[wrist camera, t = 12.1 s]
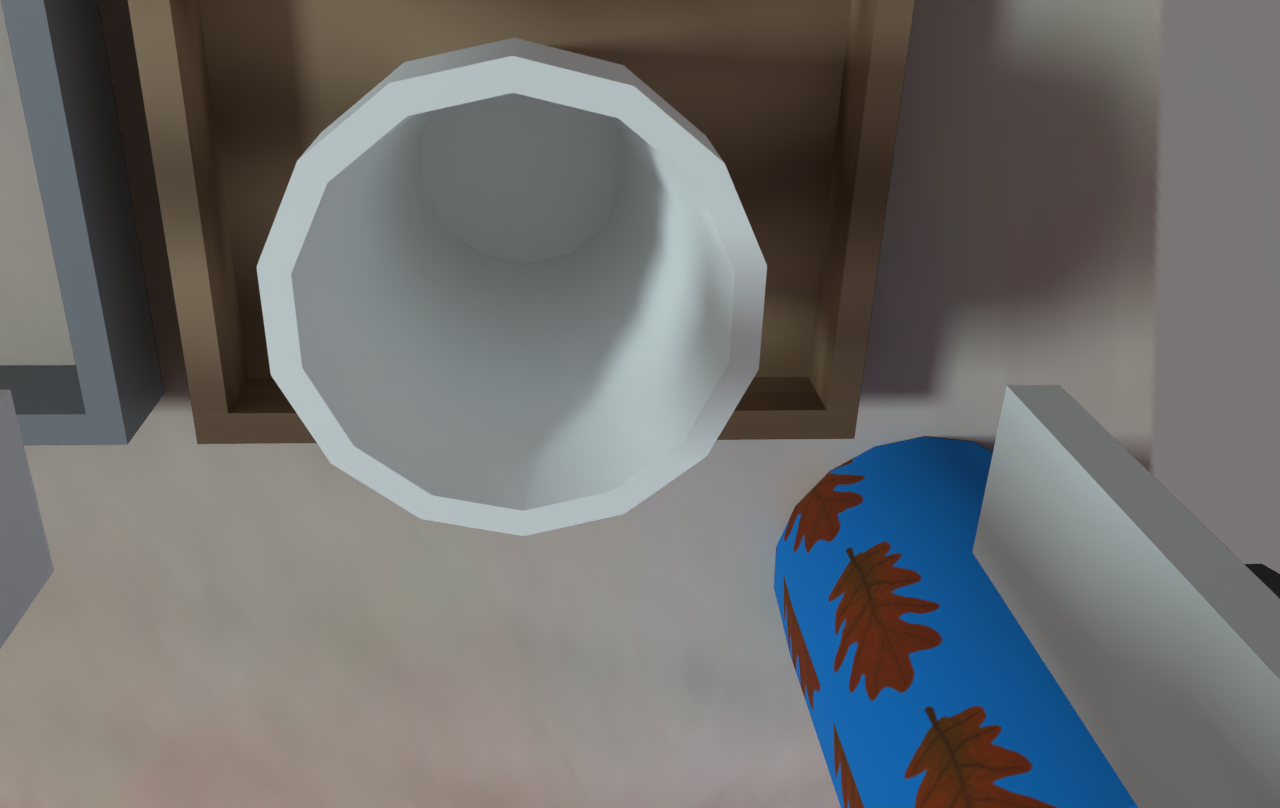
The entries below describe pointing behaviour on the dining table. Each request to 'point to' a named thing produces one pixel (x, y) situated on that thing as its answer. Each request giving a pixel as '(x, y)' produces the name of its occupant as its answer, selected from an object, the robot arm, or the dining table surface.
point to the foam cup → (512, 289)
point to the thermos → (923, 645)
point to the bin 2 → (568, 20)
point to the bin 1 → (82, 234)
